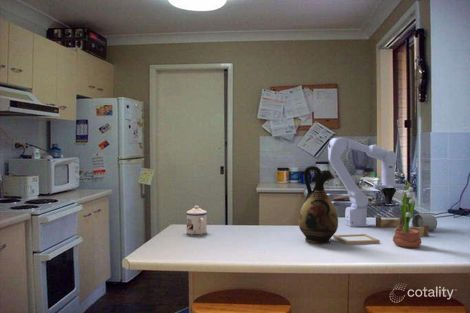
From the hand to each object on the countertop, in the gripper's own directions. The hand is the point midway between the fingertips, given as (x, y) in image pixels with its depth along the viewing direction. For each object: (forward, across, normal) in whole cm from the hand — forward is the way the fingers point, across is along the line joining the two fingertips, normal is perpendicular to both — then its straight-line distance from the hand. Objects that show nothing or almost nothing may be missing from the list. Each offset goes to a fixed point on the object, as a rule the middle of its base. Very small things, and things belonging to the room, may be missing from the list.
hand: (388, 203), depth 185 cm
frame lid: (+10, -29, -29) cm, 42 cm away
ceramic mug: (+11, +10, -11) cm, 19 cm away
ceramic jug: (+10, -45, -28) cm, 54 cm away
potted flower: (+10, -13, -39) cm, 42 cm away
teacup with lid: (+8, -92, -11) cm, 93 cm away
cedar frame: (+10, -1, -13) cm, 17 cm away
